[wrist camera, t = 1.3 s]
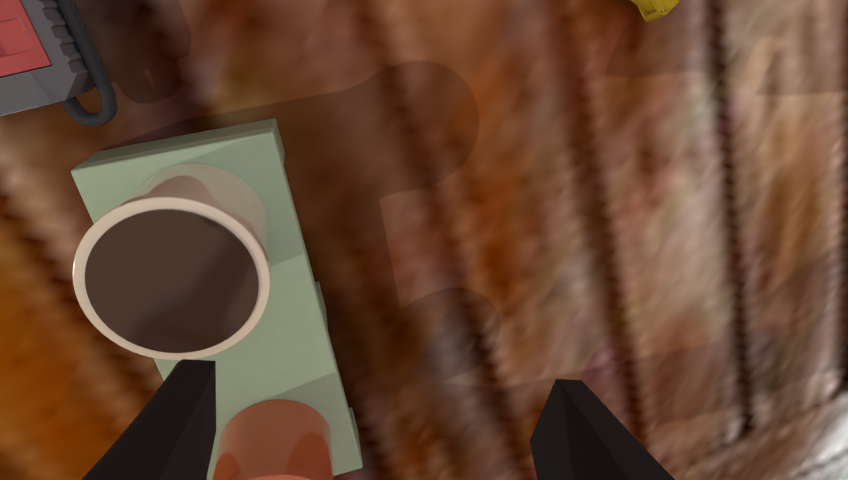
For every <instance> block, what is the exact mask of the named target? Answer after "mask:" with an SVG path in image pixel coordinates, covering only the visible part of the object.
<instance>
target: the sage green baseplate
mask: <svg viewBox="0 0 848 480" xmlns="http://www.w3.org/2000/svg"><path fill="white" fill-rule="evenodd" d="M284 159H285V152H284V148H283V144H282V140H281V136H280V133H279V129H278V125H277V121H276V119H274V118H272V119H267V120H261V121H256V122H251V123H245V124H240V125H235V126H229V127H224V128H219V129H214V130H208V131H203V132H198V133H192V134H187V135H182V136H176V137H171V138H166V139H160V140H155V141H150V142H144V143H139V144H134V145H129V146H123V147H118V148H113V149H107V150H102V151H97V152H96V153H95V154H93V155H92V156H91V157H89V158H88V159H86V160H85V161H84V162H82V163H81V164H80V165H78V166H77V167H75V168H74V169H73V170H71V174H72V176H73V179H74V181H75V183H76V185H77V188H78V190H79V192H80V194H81V197H82V199H83V201H84V203H85V206H86V208H87V210H88V212H89V214H90V217H91V219H92V221H93V223H95V222H96V221H97V220H98V219H99V218H100V217H101V216H102V215H103V214H105V213H106V212H107V211H109V210H110V209H111V208H113V207H115V206H117V205H118V204H120V203H122V202H125V201H127V200H128V199H129V198H130V197H131V195H132V194H133V193H134V192H135V191H136V190H137V189H138V187H139V186H140V185H141V184H142V183H143V182H144V181H145V180H146V179H148V178H149V177H150V176H152V175H153V174H155V173H157V172H159V171H160V170H163V169H165V168H168V167H171V166H175V165H180V164H206V165H211V166H215V167H218V168H221V169H224V170H226V171H228V172H230V173H232V174H234V175H236V176H237V177H239V178H241V179H242V180H243V181H244V182H246V183H247V184H248V185H249V186H250V187H251V188H252V189H253V190H254V191H255V192H256V194H257V195H258V197H259V198H260V200H261V201H262V203H263V205H264V207H265V210H266V213H267V216H268V221H269V240H268V248H267V256H268V259H269V263H270V268H271V289H270V296H269V300H268V304H267V306H266V309H265V311H264V314H263V315H262V317H261V319H260V320H259V322H258V323H257V325H256V326H255V327H254V328H253V330H252V331H251V332H250V333H249V334H248V335H246V336H245V337H244V338H243V339H242V340H240V341H239V342H238V343H236V344H235V345H233V346H231V347H229V348H228V349H226V350H224V351H221V352H219V353H216V354H214V355H210V356H207V357H203V358H198V359H191V360H210V361H216V435H215V440H214V445H213V449H212V454H211V459H210V464H209V469H208V473H207V480H212V479H213V474H214V468H215V463H216V457H217V452H218V446H219V441H220V437H221V434H222V431H223V429H224V428H225V426H226V425H227V423H228V422H229V421H230V420H231V419H232V418H233V417H234V416H235V415H236V414H238V413H239V412H240V411H242V410H244V409H245V408H247V407H249V406H251V405H254V404H257V403H260V402H264V401H269V400H292V401H297V402H300V403H303V404H306V405H308V406H310V407H312V408H313V409H315V410H316V411H318V412H319V413H320V414H321V415H322V416H323V417H324V419H325V420H326V422H327V423H328V425H329V428H330V431H331V439H332V452H333V465H334V476H335V475H339V474H342V473H346V472H349V471H353V470H356V469H360V468H362V467H363V464H362V457H361V450H360V442H359V435H358V428H357V425H356V421H355V417H354V413H353V409H352V408H351V407H349V408H348V404H347V400H346V397H345V393H344V389H343V386H342V382H341V378H340V374H339V371H338V367H337V363H336V359H335V356H334V352H333V348H332V344H331V341H330V337H329V333H328V326H327V315H326V307H325V303H324V299H323V296H322V292H321V288H320V284H319V282H318V281H316V282H315V281H314V277H313V273H312V270H311V266H310V262H309V258H308V255H307V251H306V247H305V243H304V240H303V236H302V232H301V229H300V225H299V221H298V217H297V214H296V210H295V206H294V202H293V199H292V195H291V191H290V187H289V184H288V180H287V176H286V172H285V169H284ZM154 361H155V363H156V365H157V367H158V370H159V372H160V374H161V376H162V378H163V381H165V379H166V378H167V377H168V375H169V374H170V372H171V371H172V369H173V368H174V367H175V365H176V364H177V363H178V362H179V361H181V360H164V359H156V358H154Z"/></svg>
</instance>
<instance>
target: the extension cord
mask: <svg viewBox="0 0 848 480" xmlns="http://www.w3.org/2000/svg"><path fill="white" fill-rule="evenodd" d="M630 1H632V2H633V3H634V4H636V5H637V6H638V8H639V10H640V13H641V15H642V17H643V19H644V21H645V22H649V21H652V20H655V19H658V18H660V17H662V16H664V15H666V14H668V12H669V11H670V10H671V9H672V8H674V6H675V5H676V4H677V3H678V2H679V0H630Z"/></svg>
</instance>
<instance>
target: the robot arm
mask: <svg viewBox="0 0 848 480" xmlns="http://www.w3.org/2000/svg"><path fill="white" fill-rule="evenodd" d="M215 435H216V361H210V360H191V359H182V360H181V361H179V362H178V363H177V364H176V365H175V367H174V368H173V369H172V371H171V372H170V374H169V375H168V377H167V378H166V379H165V381H164V382H163V384H162V385H161V386H160V388H159V389H158V390H157V392H156V393H155V394H154V396H153V397H152V398H151V399H150V401H149V402H148V403H147V404H146V406H145V407H144V408H143V410H142V411H141V412H140V413H139V415H138V416H137V417H136V418H135V419H134V421H133V422H132V423H131V424H130V425H129V427H128V428H127V429H126V430H125V431H124V432H123V434H122V435H121V436H120V437H119V438H118V440H117V441H116V442H115V443H114V444H113V445H112V447H111V448H110V449H109V450H108V451H107V452H106V454H105V455H104V456H103V457H102V458H101V459H100V460H99V461H98V462H97V463H96V464H95V466H94V467H93V468H92V469H91V470H90V471H89V472H88V473H87V474H86V475H85V476H84V477H83V478H82V479H81V480H206V478H207V473H208V469H209V464H210V459H211V454H212V449H213V445H214V440H215ZM530 444H531V450H532V455H533V460H534V466H535V470H536V475H537V480H675V479H674V478H673V477H672V476H671V475H670V474H669V473H668V472H667V471H666V470H665V469H664V468H663V467H662V466H661V465H660V464H659V463H658V462H657V461H656V460H655V459H654V458H653V457H652V456H651V455H650V454H649V453H648V451H647V450H646V449H645V448H644V447H643V446H642V445H641V444H640V443H639V442H638V441H637V440H636V439H635V438H634V437H633V436H632V434H631V433H630V432H629V431H628V430H627V429H626V428H625V427H624V426H623V425H622V424H621V422H620V421H619V420H618V419H617V418H616V417H615V416H614V415H613V414H612V413H611V412H610V410H609V409H608V408H607V407H606V406H605V405H604V404H603V403H602V402H601V401H600V400H599V398H598V397H597V396H596V395H595V394H594V393H593V392H592V391H591V390H590V389H589V388H588V387H587V386H586V385H585V384H584V383H583V382H582V381H581V380H564V379H556V380H555V383H554V385H553V387H552V390H551V392H550V394H549V397H548V399H547V401H546V404H545V406H544V408H543V411H542V413H541V415H540V418H539V420H538V422H537V425H536V427H535V429H534V432H533V434H532V436H531V439H530Z"/></svg>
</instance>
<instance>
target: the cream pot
mask: <svg viewBox="0 0 848 480" xmlns="http://www.w3.org/2000/svg"><path fill="white" fill-rule="evenodd" d="M268 240H269V221H268V216H267V213H266V210H265V207H264V205H263V203H262V201H261V200H260V198H259V197H258V195H257V194H256V192H255V191H254V190H253V189H252V188H251V187H250V186H249V185H248V184H247V183H246V182H244V181H243V180H242V179H241V178H239V177H237V176H236V175H234V174H232V173H230V172H228V171H226V170H224V169H221V168H218V167H215V166H211V165H206V164H180V165H175V166H171V167H168V168H165V169H163V170H160V171H159V172H157V173H155V174H153V175H152V176H150V177H149V178H148V179H146V180H145V181H144V182H143V183H142V184H141V185H140V186H139V187H138V189H137V190H136V191H135V192H134V193H133V194H132V195H131V197H130V198H129V199H128V200H127V201H125V202H122V203H120V204H118V205H117V206H115V207H113V208H111V209H110V210H109V211H107V212H106V213H105V214H103V215H102V216H101V217H100V218H99V219H98V220H97V221H96V222H95V223H94V224H93V225H92V226H91V227H90V229H89V230H88V231H87V232H86V234H85V235H84V237H83V238H82V240H81V242H80V244H79V246H78V248H77V250H76V254H75V257H74V261H73V271H72V274H73V285H74V289H75V294H76V297H77V299H78V302H79V304H80V306H81V308H82V310H83V311H84V313H85V315H86V316H87V318H88V319H89V320H90V321H91V323H92V324H93V325H94V326H95V327H96V328H97V329H98V330H99V331H100V332H101V333H102V334H104V335H105V336H106V337H107V338H109V339H110V340H111V341H113V342H115V343H116V344H118V345H120V346H121V347H123V348H126V349H128V350H130V351H132V352H135V353H138V354H141V355H144V356H147V357H152V358H156V359H164V360H182V359H198V358H203V357H207V356H210V355H214V354H216V353H219V352H221V351H224V350H226V349H228V348H229V347H231V346H233V345H235V344H236V343H238V342H239V341H240V340H242V339H243V338H244V337H245V336H246V335H248V334H249V333H250V332H251V331H252V330H253V328H254V327H255V326H256V325H257V323H258V322H259V320H260V319H261V317H262V315H263V314H264V311H265V309H266V306H267V304H268V300H269V296H270V289H271V268H270V263H269V259H268V256H267V248H268Z"/></svg>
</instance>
